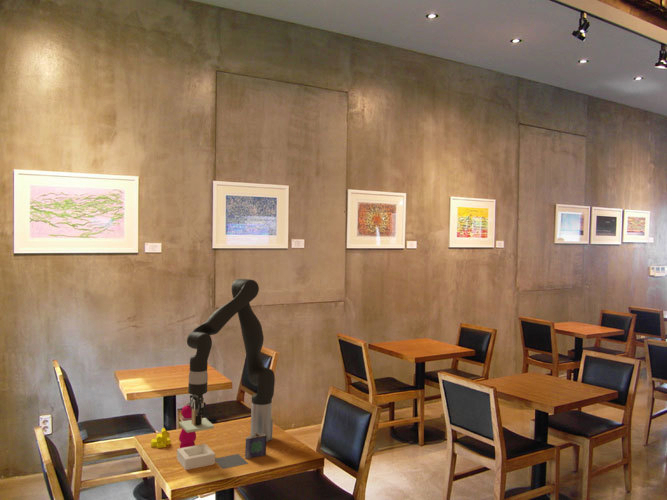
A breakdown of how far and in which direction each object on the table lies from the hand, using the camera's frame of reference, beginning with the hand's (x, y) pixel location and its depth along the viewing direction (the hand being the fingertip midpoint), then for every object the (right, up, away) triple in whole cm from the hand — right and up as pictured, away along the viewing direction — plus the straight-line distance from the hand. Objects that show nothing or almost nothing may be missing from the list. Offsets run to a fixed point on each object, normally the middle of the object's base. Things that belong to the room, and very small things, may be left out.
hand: (196, 423), depth 209 cm
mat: (+13, -16, +1) cm, 21 cm away
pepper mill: (-8, -16, +15) cm, 23 cm away
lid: (0, -1, 0) cm, 1 cm away
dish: (-1, -16, 0) cm, 16 cm away
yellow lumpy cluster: (-20, -16, +17) cm, 31 cm away
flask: (+23, -17, +7) cm, 29 cm away
